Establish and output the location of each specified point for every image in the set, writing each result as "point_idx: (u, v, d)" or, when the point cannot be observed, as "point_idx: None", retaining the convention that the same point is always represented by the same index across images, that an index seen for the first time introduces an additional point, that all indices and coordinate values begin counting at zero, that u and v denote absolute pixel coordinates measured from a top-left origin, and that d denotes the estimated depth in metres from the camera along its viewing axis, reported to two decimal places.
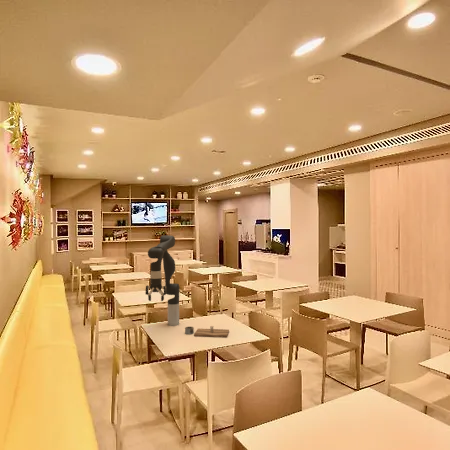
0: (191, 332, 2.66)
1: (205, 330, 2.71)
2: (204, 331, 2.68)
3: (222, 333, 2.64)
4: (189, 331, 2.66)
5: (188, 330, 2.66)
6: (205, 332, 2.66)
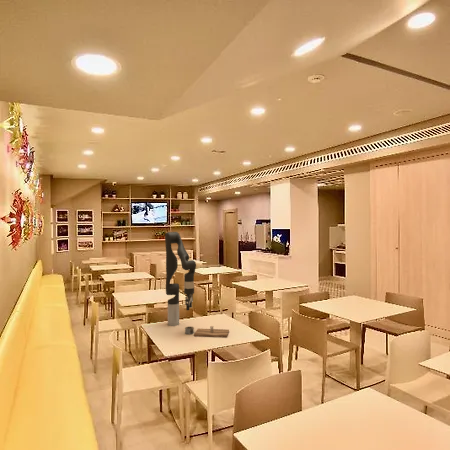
0: (191, 332, 2.66)
1: (205, 330, 2.71)
2: (204, 331, 2.68)
3: (222, 333, 2.64)
4: (189, 331, 2.66)
5: (188, 330, 2.66)
6: (205, 332, 2.66)
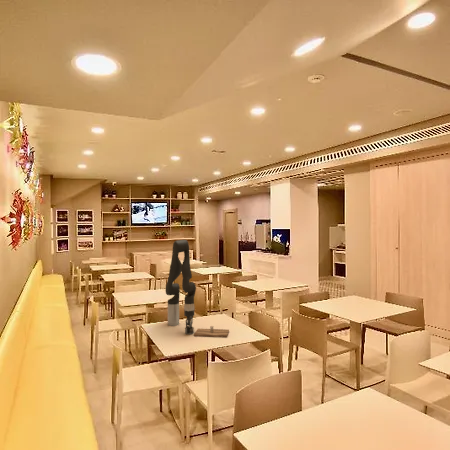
0: (191, 332, 2.66)
1: (205, 330, 2.71)
2: (204, 331, 2.68)
3: (222, 333, 2.64)
4: None
5: None
6: (205, 332, 2.66)
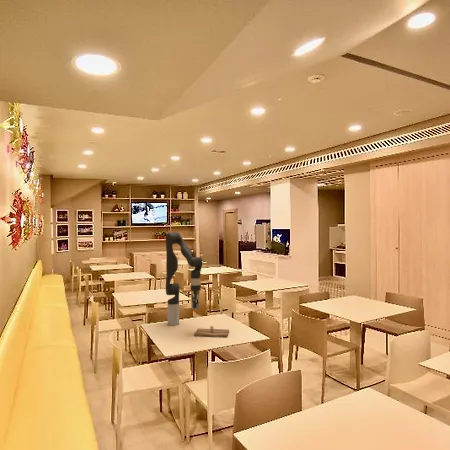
0: (197, 307, 2.65)
1: (205, 330, 2.71)
2: (204, 331, 2.68)
3: (222, 333, 2.64)
4: None
5: None
6: (205, 332, 2.66)
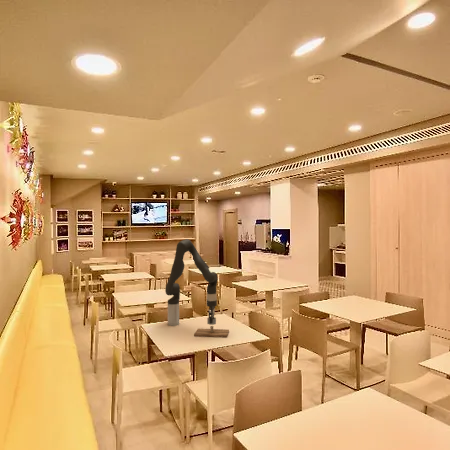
0: (214, 322, 2.64)
1: (205, 330, 2.71)
2: (204, 331, 2.68)
3: (222, 333, 2.64)
4: None
5: None
6: (205, 332, 2.66)
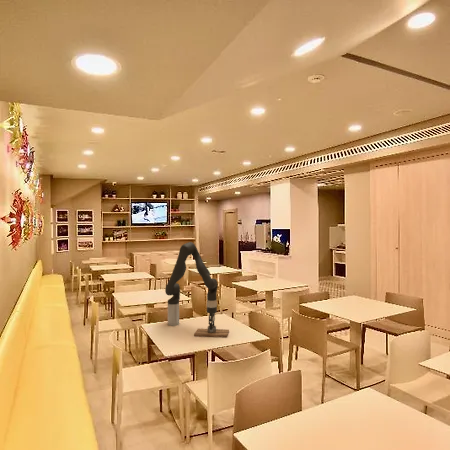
0: (214, 331, 2.64)
1: (205, 330, 2.71)
2: (204, 331, 2.68)
3: (222, 333, 2.64)
4: (212, 330, 2.64)
5: None
6: (205, 332, 2.66)
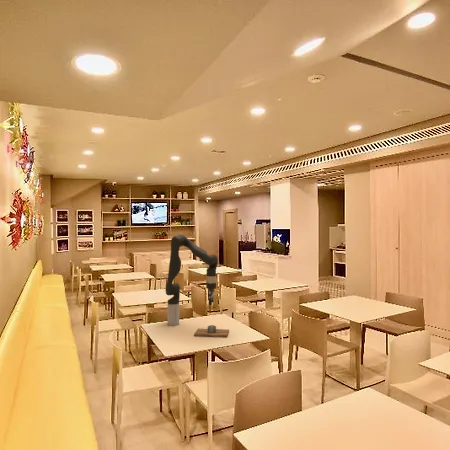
0: (214, 331, 2.64)
1: (205, 330, 2.71)
2: (204, 331, 2.68)
3: (222, 333, 2.64)
4: (212, 330, 2.64)
5: (211, 329, 2.64)
6: (205, 332, 2.66)
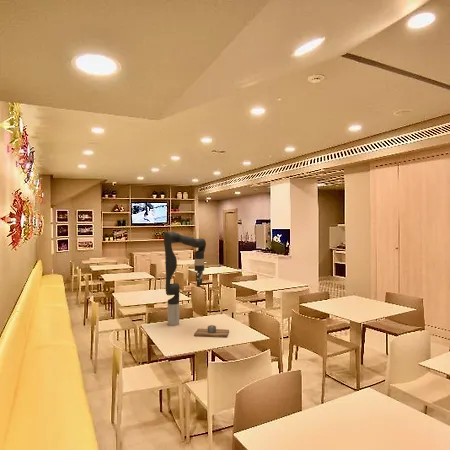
0: (214, 331, 2.64)
1: (205, 330, 2.71)
2: (204, 331, 2.68)
3: (222, 333, 2.64)
4: (212, 330, 2.64)
5: (211, 329, 2.64)
6: (205, 332, 2.66)
